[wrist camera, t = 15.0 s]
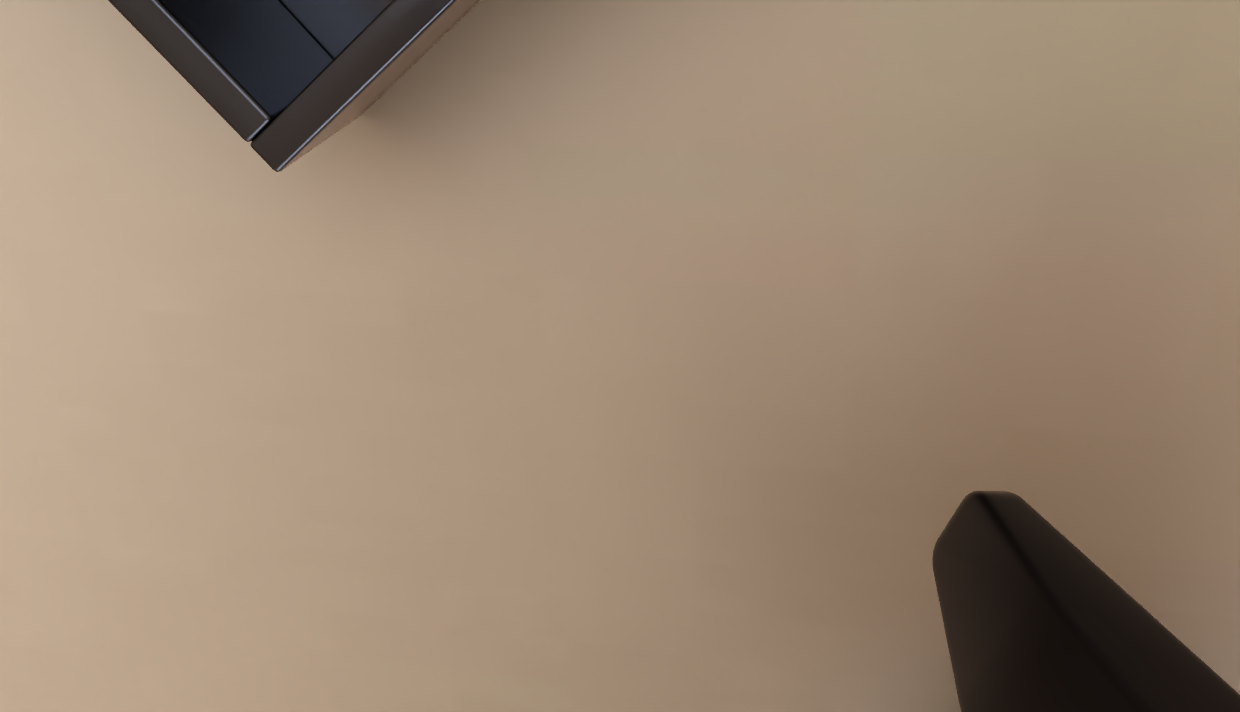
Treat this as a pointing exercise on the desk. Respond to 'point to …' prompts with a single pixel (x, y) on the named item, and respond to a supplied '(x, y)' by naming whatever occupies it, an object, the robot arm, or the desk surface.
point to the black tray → (291, 59)
